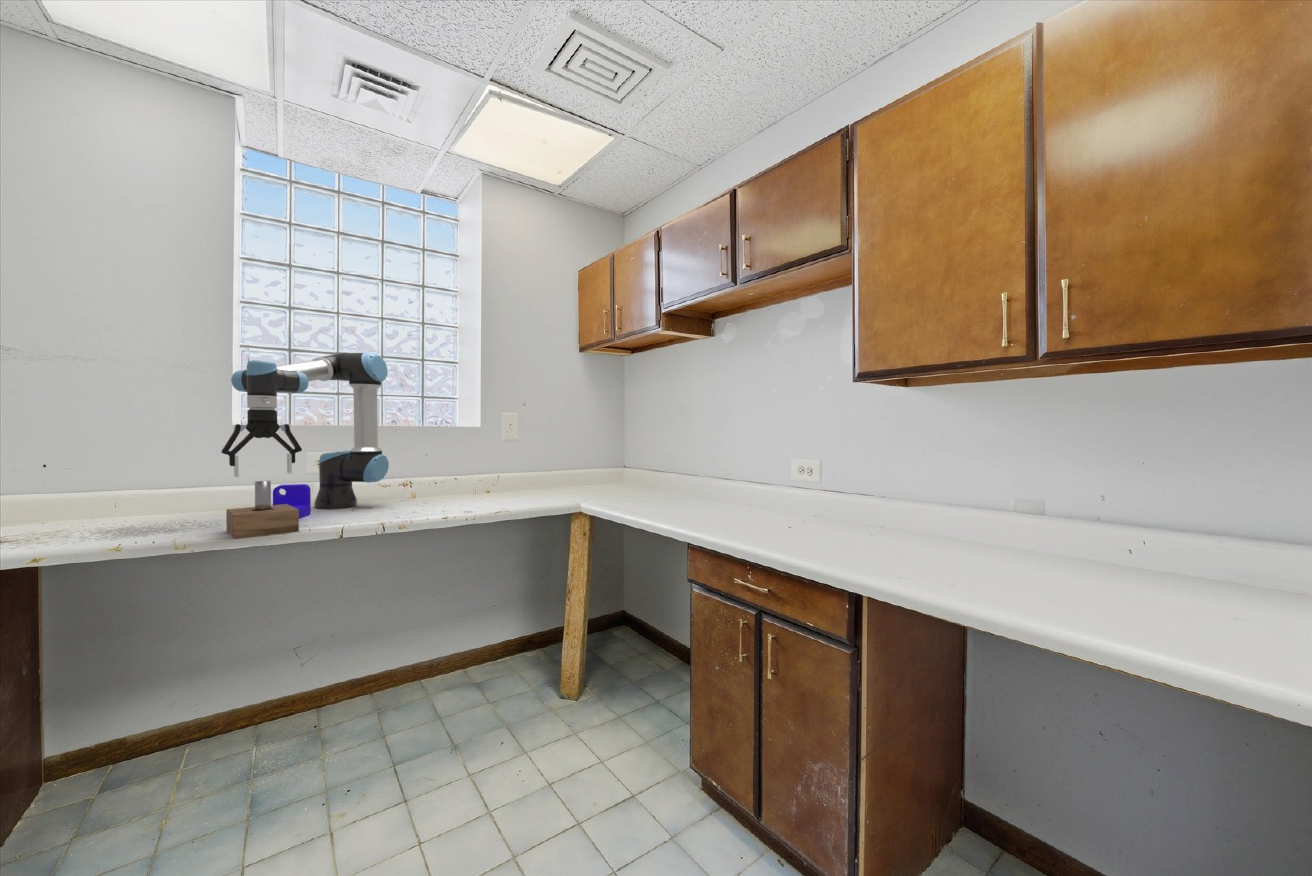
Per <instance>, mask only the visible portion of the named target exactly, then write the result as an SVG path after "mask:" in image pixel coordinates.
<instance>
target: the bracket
mask: <svg viewBox="0 0 1312 876" xmlns="http://www.w3.org/2000/svg"><path fill="white" fill-rule="evenodd" d="M280 490H284V491H285V493H284V494H282V493H281V492H280ZM311 493H312V492H311V486H310V485H309V484H307V483H294V484H291V483H289V484H280V485H277V486H276V487H274V489H273V490H272V505H282V504H288V505H290V506H292V507H294V508H297V509H299V520H300V519H303V518H305V517H309V516H310V515H311V505H312V504H311V503H312V502H311V501H312V500H311Z"/></svg>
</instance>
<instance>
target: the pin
mask: <svg viewBox="0 0 1312 876" xmlns="http://www.w3.org/2000/svg"><path fill="white" fill-rule="evenodd" d="M271 483H272V481H271V480H256V481H254V507H255V511H263V510H271V505H272V499H271V495H272V494H271V493H272V490H271V489H272V485H271Z"/></svg>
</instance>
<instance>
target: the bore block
mask: <svg viewBox="0 0 1312 876" xmlns="http://www.w3.org/2000/svg"><path fill="white" fill-rule="evenodd" d="M225 517H226V522H225V523H226V532H227V533H228V534H229V535H230V536H231V537H232V538H233V539H234V540H235V539H236V540H237V539H243V538H253V537H261V536H269V535H278V534H285V533H293V532H294V533H295V532H299V530H300V528H299V527H300V519H299V509H297V508H294V507H292V506H290V505H288V504H282V505H273V504H271V510H263V511H255V506H251V507H249V506H248V507H247V506H246V507H237V508H226V515H225Z"/></svg>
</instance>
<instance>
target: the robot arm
mask: <svg viewBox="0 0 1312 876" xmlns="http://www.w3.org/2000/svg"><path fill="white" fill-rule="evenodd" d="M387 377H388V366H387V363H386V361H385V359H384V358H383V357H382V356H381V355H380V354H377V353H374V352H373V353H372V352H339V353H335V354H334V353H333V354H329V355H325V356H319V357H315V358H314V359H312V360H311V361H305V362H304V361H303V362H297V363H290V364H284V365H277V364H276V362H274V361H270V360H269V361H268V360H257V359H255V360H253V359H252V360H249V361H248V362H247V363H246V369H240V370H236V371H235V372H233V374H232V375H231V379H230V381H231V385H232V387H233V388H234V389H235V390H236V391H238V392H242V393H246V404H247V405H246V406H247V408H248V410H247V422H246V424H245V425H244V424H238V423H235V425H234V427H233V432H232V433H231V435H230V437H229V439H228V440H227V441H226V443H225V445H224V446H223V448H222V449H221V454H223V455H227V456H228V458H229V459H228V461H229V466H230V467H233V477H236V478H238V477H239V475H240V474H239V473H240V472H239V455H237V454H238V453H239V451H241V449H243V447H245V446H246V445H247V444H248V443H249V442H250V441H251V440H253V438H255V439H262V438H265V439H270V438H273V439H274V440H275V441H277V443H279V444H280V445H281V447H283V448H284V449H285V450H286V451H287V452H288V453H286V473H287V474H293V472H292V471H293V470H292V469H293V465H292V464H295V463H296V453H300V452H302V450H303V448H302V447H301V445H300V443H299V442H298V440H297V439H296V437H295V436H294V435H293V433H292V431H291V426H290V425H289V424H288V423H284V424H279V423H278V411H277V410H276V409H277V408H278V398H277V397H278V393H291V394H298V393H299V394H300V393H303V392H305V391H306V390H307V389H308V387H309V382H314V381H321V382H326V381H341V382H343V381H344V382H345V381H346V382H348V385H349V386H350V387H351V388H352V389H353V391H352V393H353V435H354V436H353V440H354V441H353V443H354V445H353V447H352V448H351V449H350V450H343V451H342V450H341V451H333V452H326V453H324V452H323V453H322V454H320V456H319V463H318V467H319V468H318V469H319V470H318V473H319V474H318V475H319V476H318V477H319V489H318V492H317V495H316V497H315V500H314V508H315V509H322V510H323V509H324V510H325V509H328V510H329V509H343V508H350V507H351V508H352V507H355V506H357V505H358V502H357V501H358V500H357V497H356V493H355V491H354V489H353V483H368V484H369V483H378V482H380V481H381V480H383V479H384V478H385V476H386V475H387V474H388V471H389V466H390V464H389V463H390V462H389V459H388V457H387V456H386V455H384V454H383V449H382V448H380V447H379V436H378V435H379V434H378V432H379V430H378V428H379V427H378V426H379V425H378V423H379V422H378V421H379V420H378V390H379V389H380V388H381V386H382V382H383V381H385V380H386V378H387ZM245 429H246V431H247V432H249V433H248V434H247V435H246V436H245V437H244V438H243V439H242V440H241V441H240V442H239V443H238V444H236V446H235V447H234V448H232V449H231V447H232V446H233V445H234V443H235V442H236V440H237V438H238V437H239V434H240V433H241V432H243V431H244V430H245ZM280 429H281V431H283V432H284V433H285V435H286V436H287V438H288V440H289V441H290V444H291V445H292V446H293V447H294V448H293V447H291V446H290V445H289V444H288V443H287V442H286V441H285V439H283V438H282V437H281V436H280V435H279V434H278V433H277V432H278V430H280ZM230 449H231V450H230Z"/></svg>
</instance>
